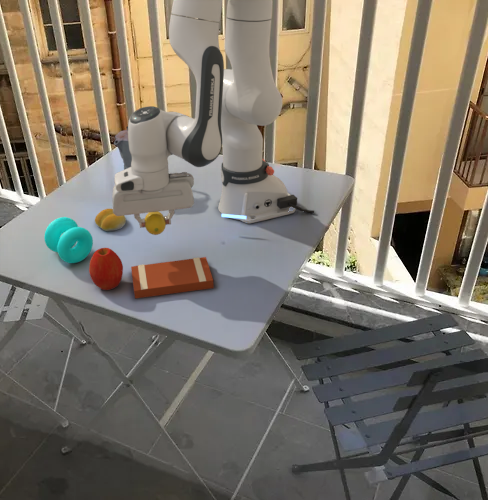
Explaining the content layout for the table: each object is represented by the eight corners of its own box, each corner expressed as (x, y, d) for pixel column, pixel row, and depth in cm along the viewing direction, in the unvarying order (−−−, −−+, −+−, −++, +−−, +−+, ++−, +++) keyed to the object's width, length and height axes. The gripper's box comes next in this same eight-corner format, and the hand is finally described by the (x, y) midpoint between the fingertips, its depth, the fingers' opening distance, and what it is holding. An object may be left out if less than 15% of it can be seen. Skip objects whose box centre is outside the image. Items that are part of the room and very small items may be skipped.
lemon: (144, 225, 146) (142, 208, 144) (164, 223, 147) (162, 206, 144) (147, 240, 140) (145, 223, 137) (167, 238, 141) (166, 220, 138)
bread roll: (109, 235, 158) (107, 223, 156) (91, 224, 164) (89, 212, 161) (132, 224, 162) (131, 212, 160) (114, 213, 168) (112, 201, 166)
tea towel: (206, 264, 143) (205, 256, 142) (213, 288, 135) (213, 279, 133) (132, 274, 142) (131, 266, 140) (135, 298, 133) (133, 290, 132)
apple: (115, 270, 143) (110, 235, 137) (131, 286, 138) (126, 250, 132) (86, 282, 140) (79, 246, 134) (101, 299, 134) (94, 262, 128)
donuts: (78, 241, 156) (72, 210, 151) (97, 255, 150) (91, 223, 144) (46, 255, 151) (39, 223, 146) (64, 271, 145) (57, 238, 139)
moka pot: (111, 188, 181) (103, 129, 170) (144, 170, 191) (138, 114, 180) (132, 196, 176) (125, 136, 165) (165, 177, 185) (160, 119, 174)
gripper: (191, 165, 138) (193, 214, 146) (108, 174, 137) (115, 223, 144) (195, 176, 133) (197, 226, 141) (109, 186, 132) (116, 236, 139)
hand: (155, 225), depth 143 cm, fingers closed on lemon, 5 cm apart
